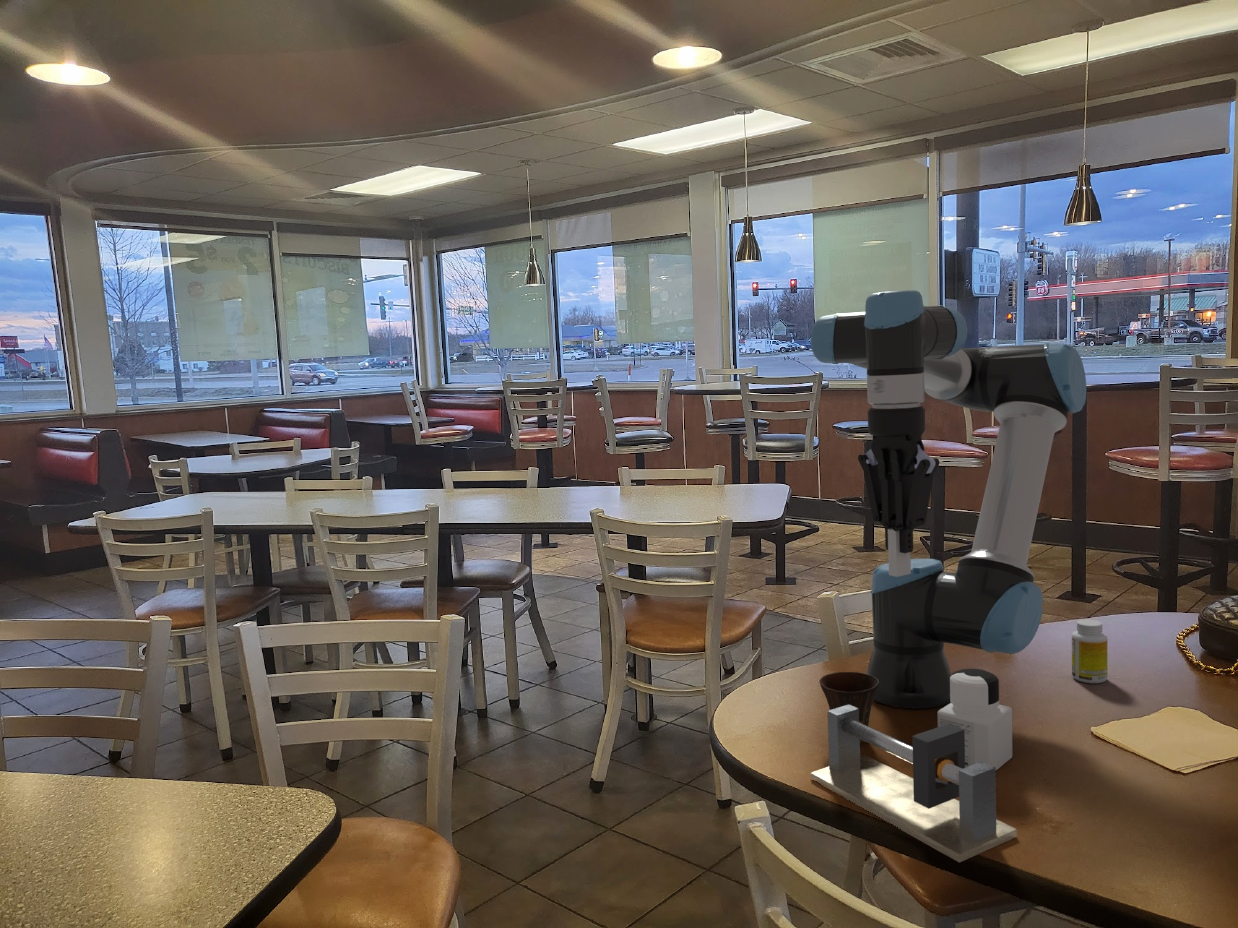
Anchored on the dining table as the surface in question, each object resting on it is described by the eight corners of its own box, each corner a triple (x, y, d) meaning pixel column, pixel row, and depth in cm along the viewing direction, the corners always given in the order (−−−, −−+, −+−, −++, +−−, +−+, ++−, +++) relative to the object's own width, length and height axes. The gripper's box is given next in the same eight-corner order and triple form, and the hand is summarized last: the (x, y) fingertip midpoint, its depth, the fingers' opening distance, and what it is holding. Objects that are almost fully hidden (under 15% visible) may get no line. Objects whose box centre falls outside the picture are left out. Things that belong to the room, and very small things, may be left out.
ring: (913, 800, 115) (912, 735, 114) (950, 786, 118) (949, 723, 117) (928, 808, 112) (927, 742, 111) (965, 793, 116) (964, 729, 115)
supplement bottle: (1114, 682, 158) (1115, 624, 157) (1087, 686, 157) (1087, 628, 156) (1091, 671, 164) (1091, 616, 163) (1064, 675, 163) (1064, 619, 162)
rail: (810, 779, 129) (808, 714, 128) (863, 760, 134) (861, 698, 133) (959, 862, 107) (958, 784, 106) (1016, 836, 111) (1016, 762, 110)
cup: (813, 746, 138) (815, 680, 138) (822, 730, 147) (824, 668, 147) (874, 754, 135) (876, 686, 135) (879, 737, 144) (881, 674, 144)
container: (961, 743, 138) (960, 660, 136) (1013, 757, 132) (1012, 671, 131) (937, 761, 133) (935, 675, 131) (990, 776, 127) (989, 686, 126)
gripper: (841, 407, 129) (846, 570, 132) (912, 408, 118) (916, 587, 120) (881, 403, 133) (885, 562, 135) (953, 404, 121) (956, 578, 124)
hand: (899, 574), depth 128 cm, fingers closed
